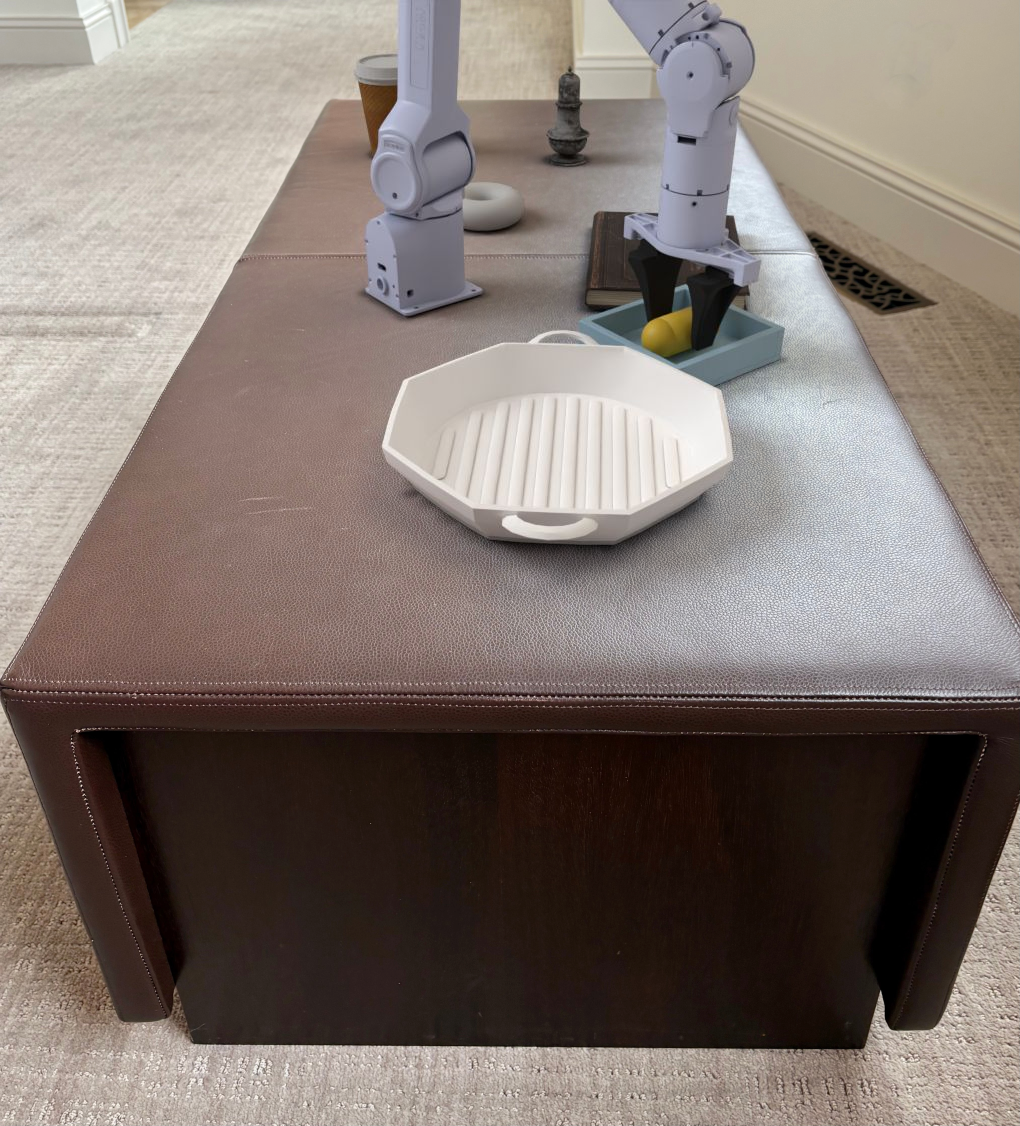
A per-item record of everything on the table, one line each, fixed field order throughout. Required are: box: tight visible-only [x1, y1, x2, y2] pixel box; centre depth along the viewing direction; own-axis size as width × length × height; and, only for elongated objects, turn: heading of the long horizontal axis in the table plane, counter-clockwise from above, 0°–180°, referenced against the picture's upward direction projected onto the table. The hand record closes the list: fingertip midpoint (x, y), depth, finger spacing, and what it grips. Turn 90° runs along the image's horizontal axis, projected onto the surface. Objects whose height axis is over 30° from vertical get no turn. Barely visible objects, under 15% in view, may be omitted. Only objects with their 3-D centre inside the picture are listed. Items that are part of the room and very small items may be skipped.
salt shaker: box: [545, 65, 591, 167], centre depth 142 cm, size 6×6×12 cm
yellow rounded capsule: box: [641, 306, 721, 358], centre depth 97 cm, size 9×4×4 cm, turn 127°
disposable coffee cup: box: [353, 53, 398, 157], centre depth 145 cm, size 10×10×12 cm
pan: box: [381, 329, 734, 546], centre depth 82 cm, size 31×26×4 cm
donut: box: [462, 181, 526, 232], centre depth 126 cm, size 10×4×10 cm
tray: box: [577, 284, 786, 387], centre depth 97 cm, size 14×13×3 cm
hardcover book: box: [583, 210, 751, 312], centre depth 114 cm, size 16×23×2 cm
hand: (679, 336), depth 97 cm, fingers open, 5 cm apart
